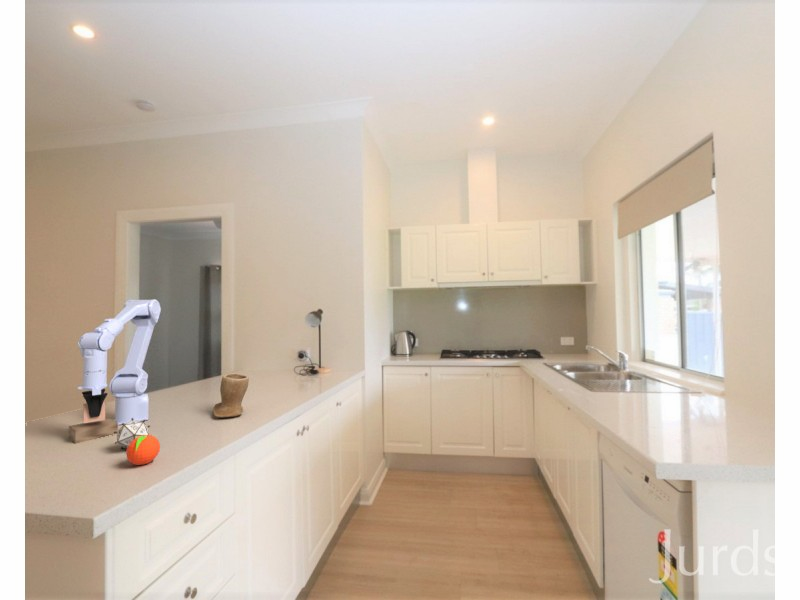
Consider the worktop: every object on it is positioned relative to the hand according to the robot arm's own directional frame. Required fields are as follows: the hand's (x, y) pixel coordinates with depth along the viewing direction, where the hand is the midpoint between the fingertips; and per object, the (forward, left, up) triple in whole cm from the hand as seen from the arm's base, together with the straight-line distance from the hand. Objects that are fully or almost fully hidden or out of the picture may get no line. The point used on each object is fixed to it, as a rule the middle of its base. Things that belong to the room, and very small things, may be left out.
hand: (94, 415), depth 112 cm
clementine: (-7, +37, -7) cm, 38 cm away
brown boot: (-39, +5, -7) cm, 40 cm away
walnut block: (0, 0, -7) cm, 7 cm away
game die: (-7, +22, -7) cm, 24 cm away
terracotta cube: (0, 0, -2) cm, 2 cm away
